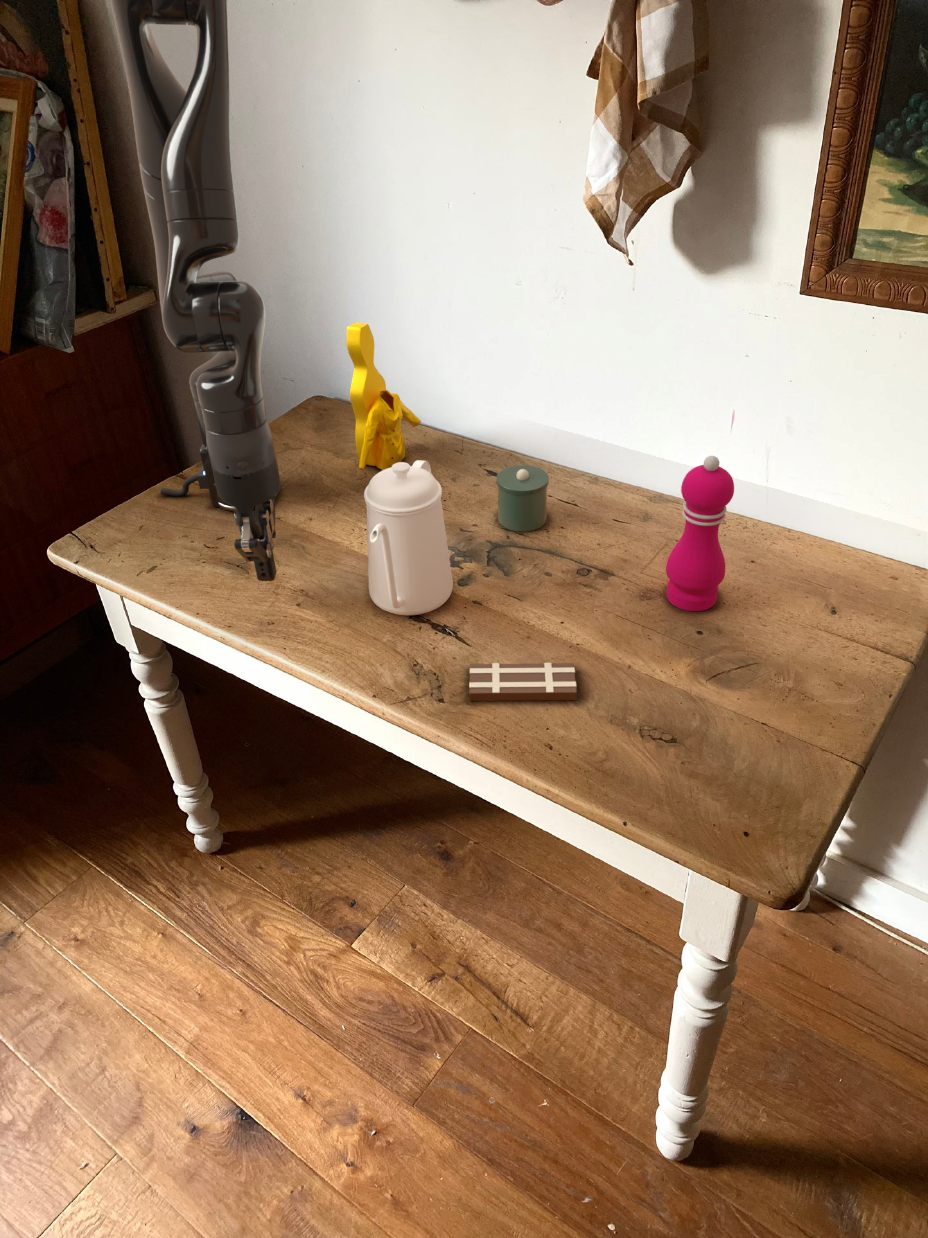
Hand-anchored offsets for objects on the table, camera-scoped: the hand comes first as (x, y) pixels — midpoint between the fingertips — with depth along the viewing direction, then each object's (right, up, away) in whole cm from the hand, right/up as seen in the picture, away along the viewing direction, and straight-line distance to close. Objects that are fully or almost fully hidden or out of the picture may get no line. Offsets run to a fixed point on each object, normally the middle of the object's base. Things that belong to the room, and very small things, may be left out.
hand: (267, 577), depth 117 cm
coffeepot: (+18, -2, +2) cm, 19 cm away
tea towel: (+32, -13, -13) cm, 37 cm away
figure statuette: (+12, +20, +31) cm, 39 cm away
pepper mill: (+54, -3, -1) cm, 54 cm away
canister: (+34, +9, +15) cm, 38 cm away
